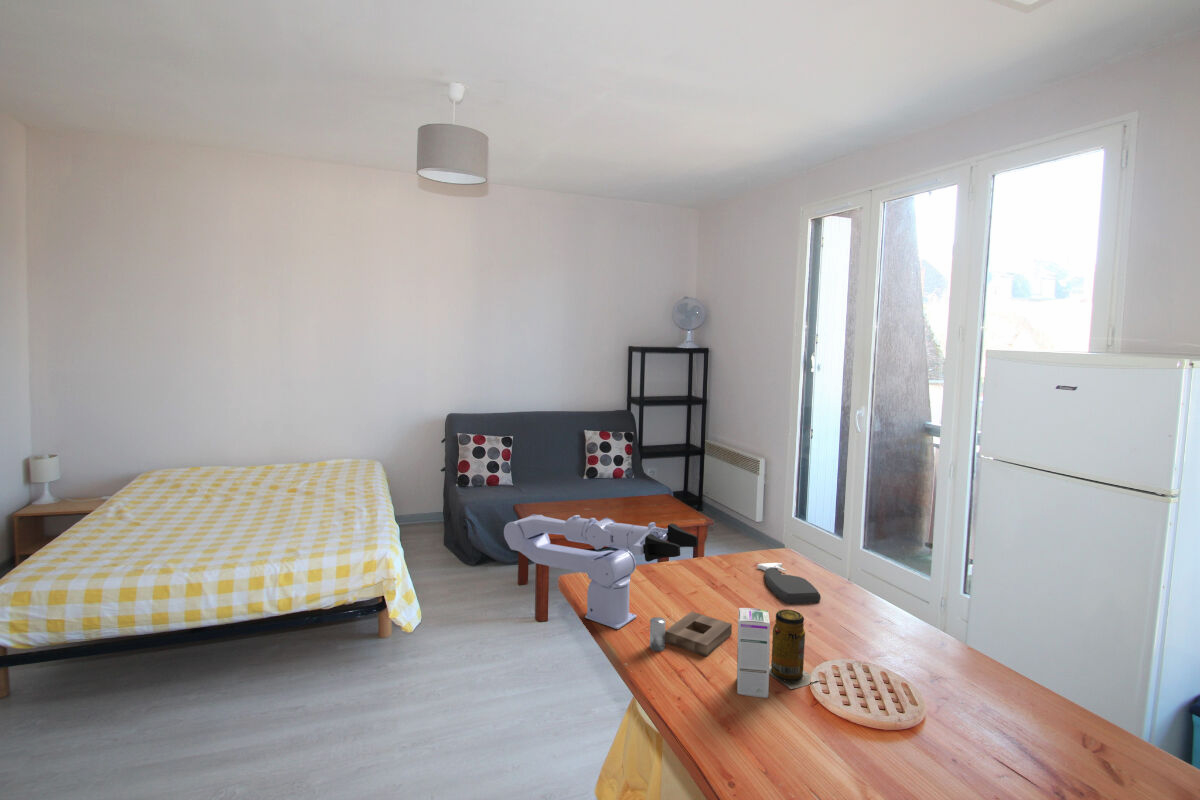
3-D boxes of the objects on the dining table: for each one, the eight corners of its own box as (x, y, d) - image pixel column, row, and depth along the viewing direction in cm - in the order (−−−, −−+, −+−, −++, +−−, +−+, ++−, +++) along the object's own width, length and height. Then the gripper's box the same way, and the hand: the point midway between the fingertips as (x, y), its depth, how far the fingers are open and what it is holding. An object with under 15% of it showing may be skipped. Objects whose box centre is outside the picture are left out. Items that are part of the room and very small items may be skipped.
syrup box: (768, 698, 113) (772, 623, 112) (735, 694, 115) (738, 619, 113) (766, 681, 119) (770, 609, 117) (735, 678, 120) (738, 606, 119)
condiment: (788, 660, 127) (791, 604, 126) (819, 681, 119) (822, 622, 118) (760, 668, 124) (762, 611, 122) (790, 690, 116) (793, 629, 115)
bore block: (664, 641, 134) (664, 630, 133) (691, 621, 143) (691, 611, 143) (706, 656, 128) (706, 645, 128) (731, 634, 137) (731, 623, 137)
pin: (646, 648, 131) (647, 621, 130) (654, 642, 134) (655, 615, 133) (659, 653, 129) (660, 625, 128) (667, 647, 132) (668, 620, 131)
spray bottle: (782, 606, 153) (748, 570, 178) (824, 604, 154) (785, 568, 179) (783, 594, 153) (749, 560, 177) (825, 593, 154) (785, 559, 178)
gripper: (614, 528, 133) (669, 536, 125) (651, 513, 144) (703, 519, 136) (616, 560, 133) (671, 570, 125) (652, 543, 145) (705, 550, 137)
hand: (688, 546), depth 131 cm, fingers open, 7 cm apart
